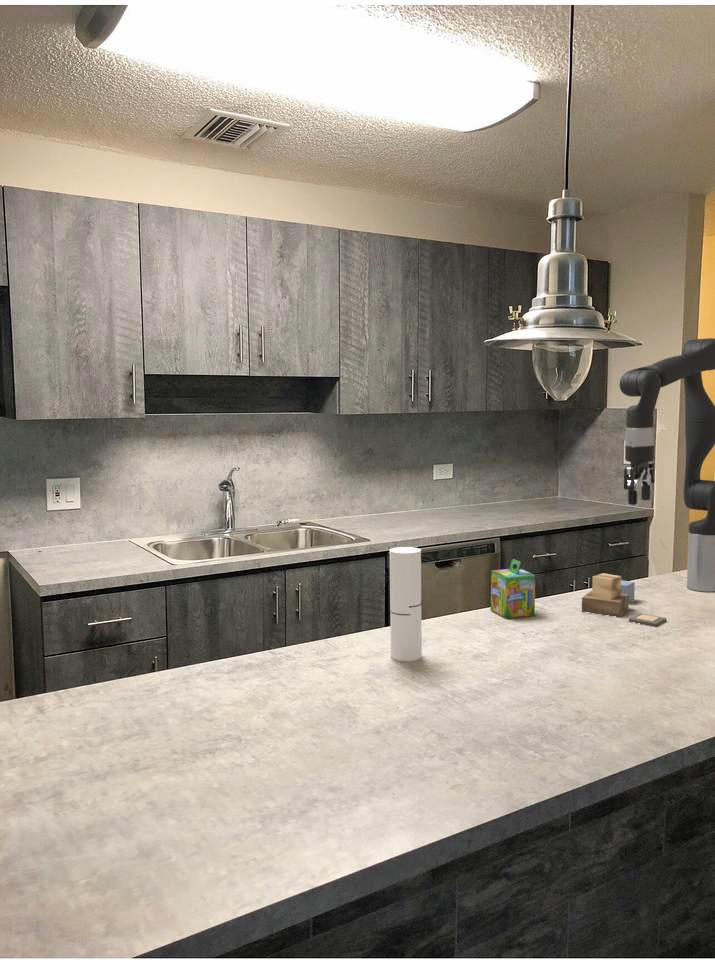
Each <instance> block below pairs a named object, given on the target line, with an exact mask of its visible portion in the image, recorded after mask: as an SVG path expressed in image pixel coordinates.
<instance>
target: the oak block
mask: <svg viewBox="0 0 715 960" xmlns="http://www.w3.org/2000/svg"><path fill="white" fill-rule="evenodd" d="M621 580H622V576H621V575H615V574H609V573H603V572H602V573H599V574H597V575H592V581H591V582H592V587H591V588H592V589H591V591H592V596H595V597H600V598H605V599H610V600H611V599H614V598H616V597H619V596H621Z"/></svg>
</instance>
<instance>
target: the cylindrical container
mask: <svg viewBox="0 0 715 960" xmlns="http://www.w3.org/2000/svg"><path fill="white" fill-rule="evenodd" d="M389 595H390V596H389V599H390V600H389V604H390V607H389V608H390V609H389V610H390V619H389V620H390V657H392V658H391V659H393V660H394V659H395V661H397V662H398V661H399V662H415V661H419V660H420V659H421V658H422V655H423V653H422V652H423V651H422V650H423V649H422V644H423V643H422V640H423V639H422V549H421V548H418V547H413V546H402V547H401V546H399V547H394V548H390V549H389Z"/></svg>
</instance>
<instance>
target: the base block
mask: <svg viewBox="0 0 715 960" xmlns="http://www.w3.org/2000/svg"><path fill="white" fill-rule="evenodd" d="M629 605H630V603H629V594H624V593H621V596H619V597H616V598H614V599H611V600H610V599H605V598H600V597H595V596H592V590H590V591H589V592H588V593H586V594H584V595H583V596H582V597H581V613H584V612H590V613H589V614H591V613H595V614H594V615H598V614H602V615H601V616H605V615H609V616H608V617H612V616H616V617H615V618H620V617H622V615H624V614H625V613H626V611H628V610H629V609H628V608H630V606H629ZM627 609H628V610H627ZM619 616H620V617H619Z"/></svg>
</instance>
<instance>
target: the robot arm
mask: <svg viewBox="0 0 715 960" xmlns="http://www.w3.org/2000/svg"><path fill="white" fill-rule="evenodd" d="M714 370H715V338H714V337H711V338H696V339H688V340H687V341H686V342H685V343H684V344H683V347H682V350H681V355H680V354H679V355H676V356H670V357H667V358H664V359H660V360H659V361H657V362H654V363H651V365H650V364H649V365H646V366H641V367H637V368H633V369H631V370H628V371H626V372H625V373H623V375H622V376H621V377H620V380H619V389H620V391H621V393H622V394H623V395H625V396H627V397H631V398H632V397H640V399H639V402H638V403H637V404H634V405H631V406H629V407H628V408H627V409H626V411H625V412H626V413H625V415H626V416H625V417H626V418H625V419H626V421H625V436H624V438H625V440H624V442H625V443H624V456H625V457H624V460H625V461H626V462H629V463H630V464H629V465H630V466H628V467H624V469H623V470H624V471H623V489H624V490H626V491H627V492H628V493H627V497H628V499H627V501H628V504H629V506H630V505H631V506H632V505H634V506H636V505H637V504H638V488H639V485H641V500H642V501H650V499H651V487H652V485H653V484H654V483H655V462H653V461H654V460H655V431H654V421H655V420H654V412H655V408H656V406H657V401H658V398H659V394H660V391H661V388H665V387H666V386H668V385H671V384H673V383H675V382H677V381H679V380H682V379H683V386H684V387H683V388H684V401H685V402H684V404H685V406H684V409H685V410H684V413H685V416H684V430H685V431H684V433H685V465H684V466H685V470H684V480H683V481H684V482H683V502H684V505H685V507H686V508H687V509H688V510H697V511H704V512H707V513H706V516H705V517H703V518H702V519H698V520H695V521H691V522H690V523H689V524H688V537H687V538H688V539H687V540H688V541H687V568H686V569H687V571H686V587H687V589H690V590H692V591H696V592H704V593H707V592H715V480H709V479H707V480H706V479H701V472H702V466H703V465H704V462H705V460H706V458H707V457H708V455H709V454H710V452H711V451H712V449H713V448H714V447H715V404H714V402H713V401H712V400H711V398H710V396H709V395H708V393H707V391H706V390H705V386H704V384H703V383H704V382H703V376H702V373H703V372H705V371H706V372H707V371H714Z"/></svg>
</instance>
